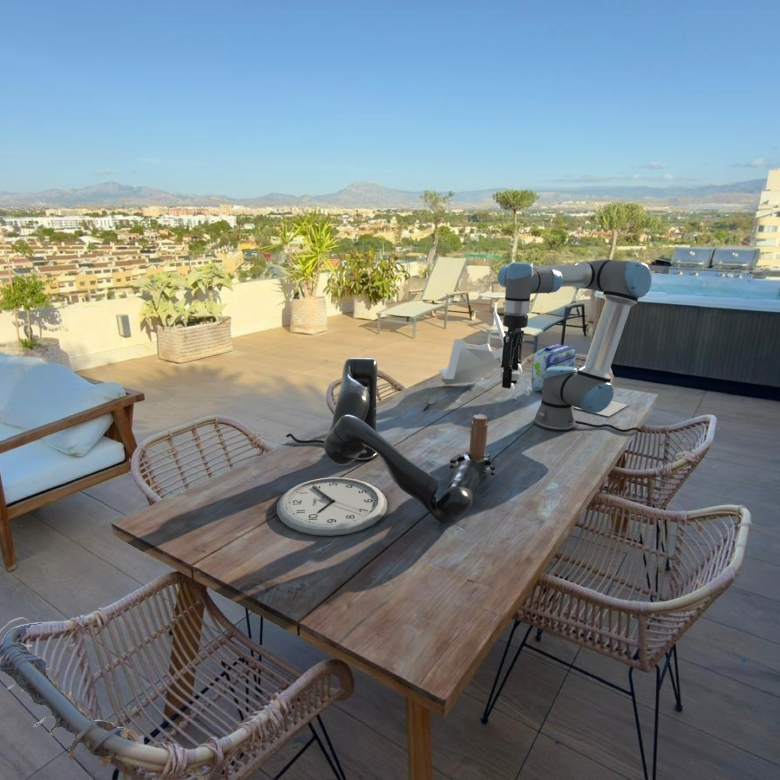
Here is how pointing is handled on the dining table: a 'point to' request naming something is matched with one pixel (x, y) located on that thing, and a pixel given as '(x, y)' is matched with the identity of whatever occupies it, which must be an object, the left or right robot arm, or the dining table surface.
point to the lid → (513, 375)
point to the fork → (430, 403)
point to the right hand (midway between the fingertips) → (509, 385)
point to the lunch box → (550, 362)
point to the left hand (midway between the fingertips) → (478, 454)
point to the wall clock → (331, 506)
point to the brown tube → (478, 438)
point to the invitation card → (610, 408)
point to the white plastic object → (476, 362)
